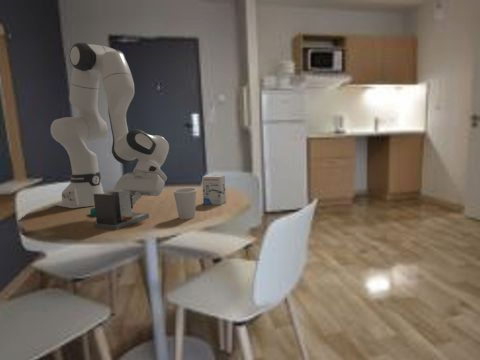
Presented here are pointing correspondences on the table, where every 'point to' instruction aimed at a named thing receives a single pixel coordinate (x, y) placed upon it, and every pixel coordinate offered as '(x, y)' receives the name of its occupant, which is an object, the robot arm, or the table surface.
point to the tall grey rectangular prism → (122, 203)
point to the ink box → (214, 189)
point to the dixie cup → (185, 202)
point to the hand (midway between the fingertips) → (129, 203)
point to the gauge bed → (112, 213)
